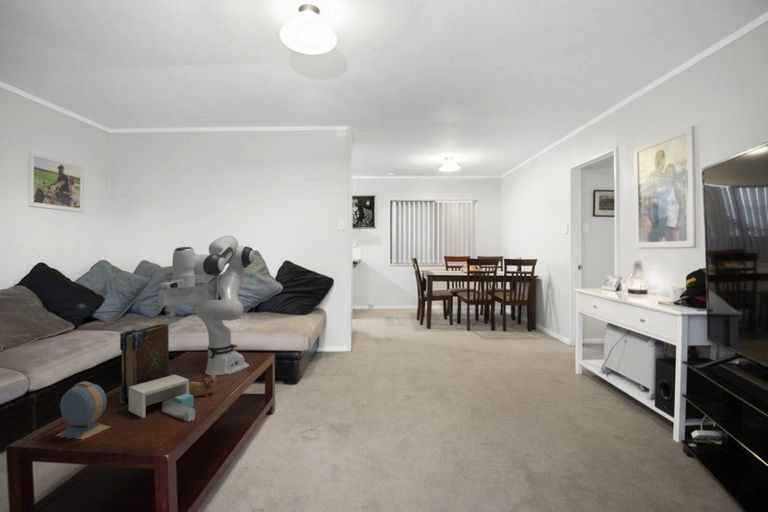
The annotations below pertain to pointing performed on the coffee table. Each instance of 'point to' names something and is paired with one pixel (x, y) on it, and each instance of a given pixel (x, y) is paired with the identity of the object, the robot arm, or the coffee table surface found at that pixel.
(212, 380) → the lion figurine
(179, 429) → the coffee table surface
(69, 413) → the alarm clock
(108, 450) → the coffee table surface
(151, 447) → the coffee table surface
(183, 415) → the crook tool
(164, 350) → the decorative book
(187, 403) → the cube
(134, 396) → the block
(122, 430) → the coffee table surface
